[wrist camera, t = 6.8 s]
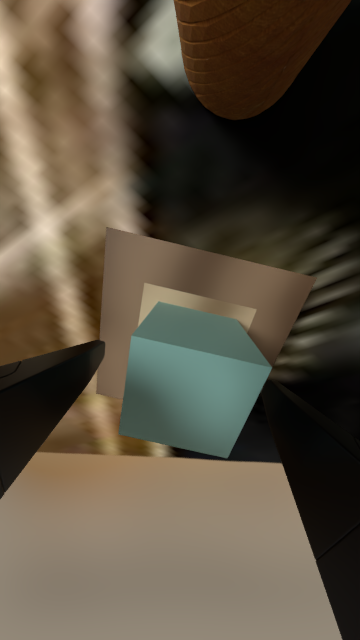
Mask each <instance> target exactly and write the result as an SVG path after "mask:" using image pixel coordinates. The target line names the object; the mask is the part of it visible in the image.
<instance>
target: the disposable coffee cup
mask: <svg viewBox="0 0 360 640" xmlns="http://www.w3.org/2000/svg"><path fill="white" fill-rule="evenodd" d="M350 2H351V0H174V5H175V10H176V15H177V16H176V17H177V23H178V29H179V37H180V42H181V50H182V58H183V63H184V69H185V72H186V75H187V78H188V81H189V84H190V86H191V88H192V90H193V91H194V93H195V95H196V97H197V98H198V99H199V101H200V102H201V103H202V104H203V105H204V106H205V107H206V108H207V109H208V110H210V111H211V112H213V113H214V114H216V115H217V116H220V117H223V118H226V119H231V120H240V119H247V118H250V117H253V116H256V115H258V114H260V113H261V112H263V111H264V110H266V109H267V108H269V107H270V106H272V105H273V104H274V103H275V102H276V101H277V100H278V99H280V98H281V97H282V95H283V94H284V93H285V92H286V90H287V89H288V88H289V86H290V85H291V84H292V83H293V81H294V79H295V78H296V76H297V75H298V74H299V72H300V71H301V69H302V68H303V67H304V65H305V64H306V63H307V61H308V60H309V58H310V57H311V56H312V54H313V53H314V52H315V50H316V49H317V47H318V46H319V45H320V43H321V42H322V41H323V39H324V38H325V36H326V35H327V34H328V32H329V31H330V29H331V28H332V27H333V25H334V24H335V23H336V21H337V20H338V18H339V17H340V16H341V14H342V13H343V11H344V10H345V9H346V7H347V6H348V5H349V3H350Z"/></svg>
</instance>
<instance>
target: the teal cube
mask: <svg viewBox="0 0 360 640" xmlns="http://www.w3.org/2000/svg"><path fill="white" fill-rule="evenodd" d="M271 369H272V367H271V365H270V364H269V363H268V361H267V360H266V359H265V357H264V356H263V354H262V353H261V352H260V350H259V349H258V348H257V346H256V345H255V344H254V342H253V341H252V340H251V338H250V337H249V336H248V334H247V333H246V331H245V330H244V329H243V327H242V326H241V325H240V323H239V322H238V321H237V319H233V318H229V317H224V316H220V315H216V314H211V313H207V312H203V311H198V310H194V309H190V308H186V307H181V306H177V305H173V304H168V303H164V302H160V301H158V303H157V304H156V305H155V306H154V308H153V309H152V310H151V311H150V313H149V314H148V315H147V316H146V318H145V319H144V320H143V322H142V323H141V324H140V325H139V327H138V328H137V329H136V330H135V332H134V333H133V334H132V335H131V343H130V350H129V358H128V366H127V373H126V381H125V389H124V396H123V404H122V412H121V419H120V427H119V434H120V435H124V436H129V437H133V438H138V439H142V440H147V441H151V442H156V443H160V444H165V445H169V446H174V447H178V448H183V449H188V450H192V451H197V452H201V453H206V454H210V455H215V456H219V457H224V458H228V456H229V454H230V452H231V450H232V448H233V446H234V444H235V442H236V440H237V438H238V436H239V434H240V432H241V430H242V428H243V426H244V424H245V422H246V420H247V418H248V416H249V414H250V412H251V410H252V408H253V406H254V404H255V401H256V399H257V397H258V395H259V393H260V391H261V389H262V387H263V385H264V383H265V381H266V379H267V377H268V375H269V373H270V371H271Z"/></svg>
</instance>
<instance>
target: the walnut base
mask: <svg viewBox="0 0 360 640" xmlns="http://www.w3.org/2000/svg"><path fill="white" fill-rule="evenodd" d="M316 279H317V278H315V277H311V276H307V275H303V274H299V273H295V272H291V271H286V270H282V269H278V268H274V267H270V266H266V265H262V264H257V263H253V262H249V261H245V260H241V259H237V258H233V257H228V256H224V255H220V254H216V253H212V252H208V251H204V250H199V249H195V248H191V247H187V246H183V245H179V244H175V243H170V242H166V241H162V240H158V239H154V238H150V237H146V236H141V235H137V234H133V233H129V232H125V231H121V230H116V229H112V228H108V227H107V228H106V245H105V261H104V277H103V293H102V309H101V325H100V340H101V341H104V342H105V356H104V359H103V360H102V362H101V364H100V365H99V367H98V374H97V390H96V394H101V395H105V396H109V397H114V398H118V399H123V396H124V389H125V381H126V373H127V366H128V358H129V350H130V343H131V335H132V334H133V333H134V332H135V330H136V329H137V328H138V327H139V325H140V324H141V323H142V322H143V320H144V319H145V318H146V316H147V315H148V314H149V313H150V311H151V310H152V309H153V308H154V306H155V305H156V304H157V303H158V301H160V302H164V303H168V304H173V305H177V306H181V307H186V308H190V309H194V310H198V311H203V312H207V313H211V314H216V315H220V316H224V317H229V318H233V319H237V321H238V322H239V323H240V325H241V326H242V327H243V329H244V330H245V331H246V333H247V334H248V336H249V337H250V338H251V340H252V341H253V342H254V344H255V345H256V346H257V348H258V349H259V350H260V352H261V353H262V354H263V356H264V357H265V359H266V360H267V361H268V363H269V364H270V365H271V367H273V365H274V363H275V361H276V359H277V357H278V355H279V353H280V351H281V349H282V347H283V345H284V343H285V341H286V339H287V337H288V335H289V333H290V331H291V329H292V327H293V325H294V323H295V321H296V319H297V317H298V315H299V313H300V311H301V309H302V307H303V305H304V303H305V301H306V299H307V297H308V295H309V293H310V291H311V289H312V287H313V285H314V283H315V281H316Z"/></svg>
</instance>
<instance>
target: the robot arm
mask: <svg viewBox="0 0 360 640" xmlns="http://www.w3.org/2000/svg"><path fill="white" fill-rule="evenodd" d="M104 356H105V342H104V341H101V340H95V341H91V342H87V343H84V344H80V345H76V346H73V347H69V348H65V349H62V350H58V351H54V352H51V353H47V354H43V355H40V356H36V357H33V358H29V359H25V360H22V362H21V361H18V362H14V363H11V364H7V365H3V366H0V499H1V498H2V496H3V495H4V492H6V491H7V490H8V488H9V487H10V486H11V484H12V483H13V482H14V480H15V479H16V478H17V477H18V475H19V474H20V473H21V471H22V470H23V469H24V467H25V466H26V465H27V463H28V462H29V461H30V459H31V458H32V457H33V455H34V454H35V453H36V452H37V450H38V449H39V448H40V446H41V445H42V444H43V442H44V441H45V440H46V439H47V437H48V436H49V435H50V433H51V432H52V431H53V429H54V428H55V427H56V425H57V424H58V423H59V421H60V420H61V419H62V418H63V416H64V415H65V414H66V412H67V411H68V410H69V408H70V407H71V406H72V404H73V403H74V402H75V400H76V399H77V398H78V397H79V395H80V394H81V393H82V391H83V390H84V389H85V387H86V386H87V385H88V383H89V382H90V380H91V379H92V377H93V375H94V374H95V372H96V370H97V369H98V367H99V365H100V364H101V362H102V360H103V359H104ZM262 399H263V403H264V407H265V411H266V415H267V419H268V423H269V426H270V429H271V432H272V435H273V438H274V441H275V444H276V447H277V450H278V453H279V456H280V459H281V461H282V464H283V467H284V470H285V473H286V476H287V479H288V482H289V485H290V488H291V491H292V493H293V496H294V499H295V502H296V505H297V508H298V511H299V513H300V517H301V520H302V523H303V525H304V528H305V531H306V534H307V537H308V540H309V543H310V545H311V549H312V551H313V554H314V557H315V559H316V564H317V567H318V570H319V572H320V575H321V578H322V581H323V584H324V587H325V590H326V593H327V596H328V599H329V602H330V604H331V607H332V610H333V613H334V616H335V619H336V622H337V625H338V628H339V631H340V634H341V636H342V639H343V640H360V441H359V440H358V439H356V438H355V437H353V436H352V435H351V434H349V433H348V432H347V431H345V430H344V429H343V428H341V427H340V426H338V425H337V424H336V423H334V422H333V421H331V420H330V419H329V418H327V417H326V416H324V415H323V414H322V413H320V412H319V411H318V410H316V409H315V408H313V407H312V406H311V405H309V404H308V403H306V402H305V401H304V400H302V399H301V398H299V397H298V396H297V395H295V394H294V393H293V392H291V391H290V390H288V389H287V388H286V387H284V386H283V385H281V384H280V383H279V382H277V381H274V380H268V381H267V382H266V384H265V386H264V388H263V390H262Z"/></svg>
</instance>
